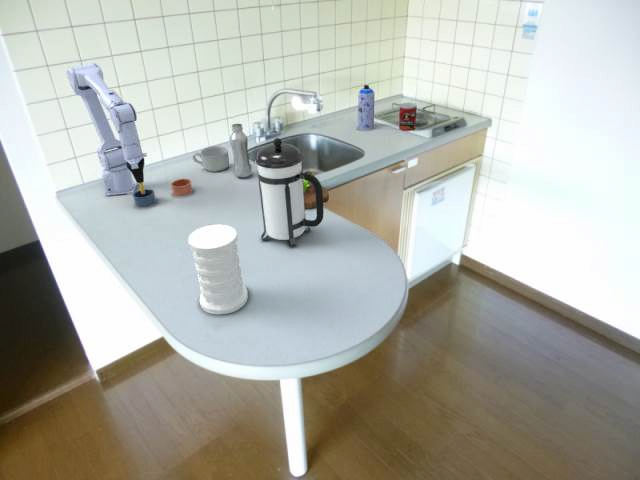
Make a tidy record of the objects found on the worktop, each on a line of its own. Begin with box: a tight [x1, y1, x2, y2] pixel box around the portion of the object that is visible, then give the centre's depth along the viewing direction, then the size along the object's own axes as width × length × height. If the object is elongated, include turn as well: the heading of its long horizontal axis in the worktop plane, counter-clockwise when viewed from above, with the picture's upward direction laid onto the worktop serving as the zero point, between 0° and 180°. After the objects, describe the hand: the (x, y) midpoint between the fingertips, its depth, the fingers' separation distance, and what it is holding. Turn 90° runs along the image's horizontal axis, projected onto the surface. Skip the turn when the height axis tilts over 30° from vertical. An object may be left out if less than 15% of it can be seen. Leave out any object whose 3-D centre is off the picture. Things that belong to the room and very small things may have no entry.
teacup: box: [192, 145, 230, 173], centre depth 184 cm, size 14×11×8 cm
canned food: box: [398, 102, 418, 132], centre depth 218 cm, size 8×8×11 cm
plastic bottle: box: [229, 123, 253, 178], centre depth 174 cm, size 6×7×20 cm
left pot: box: [132, 188, 158, 208], centre depth 161 cm, size 7×7×4 cm
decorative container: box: [187, 223, 249, 315], centre depth 109 cm, size 12×12×18 cm
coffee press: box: [254, 137, 325, 248], centre depth 131 cm, size 17×16×30 cm
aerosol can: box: [357, 84, 376, 132], centre depth 218 cm, size 8×8×20 cm
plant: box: [303, 170, 330, 210], centre depth 158 cm, size 20×20×11 cm
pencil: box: [138, 182, 146, 194], centre depth 158 cm, size 1×1×8 cm
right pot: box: [170, 178, 194, 197], centre depth 167 cm, size 7×7×4 cm
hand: (140, 181), depth 157 cm, fingers closed on pencil, 1 cm apart
